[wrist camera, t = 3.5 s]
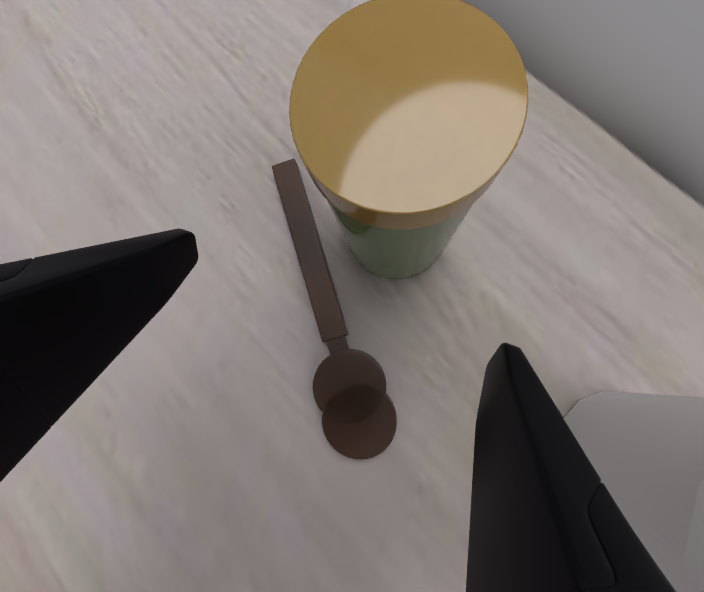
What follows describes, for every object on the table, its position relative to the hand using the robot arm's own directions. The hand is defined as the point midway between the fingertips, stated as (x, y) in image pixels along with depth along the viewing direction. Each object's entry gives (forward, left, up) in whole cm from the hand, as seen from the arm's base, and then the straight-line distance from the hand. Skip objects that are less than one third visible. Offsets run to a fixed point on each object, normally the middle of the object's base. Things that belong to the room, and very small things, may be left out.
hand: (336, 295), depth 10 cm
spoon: (+2, +2, -12) cm, 13 cm away
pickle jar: (+5, -3, -12) cm, 14 cm away
